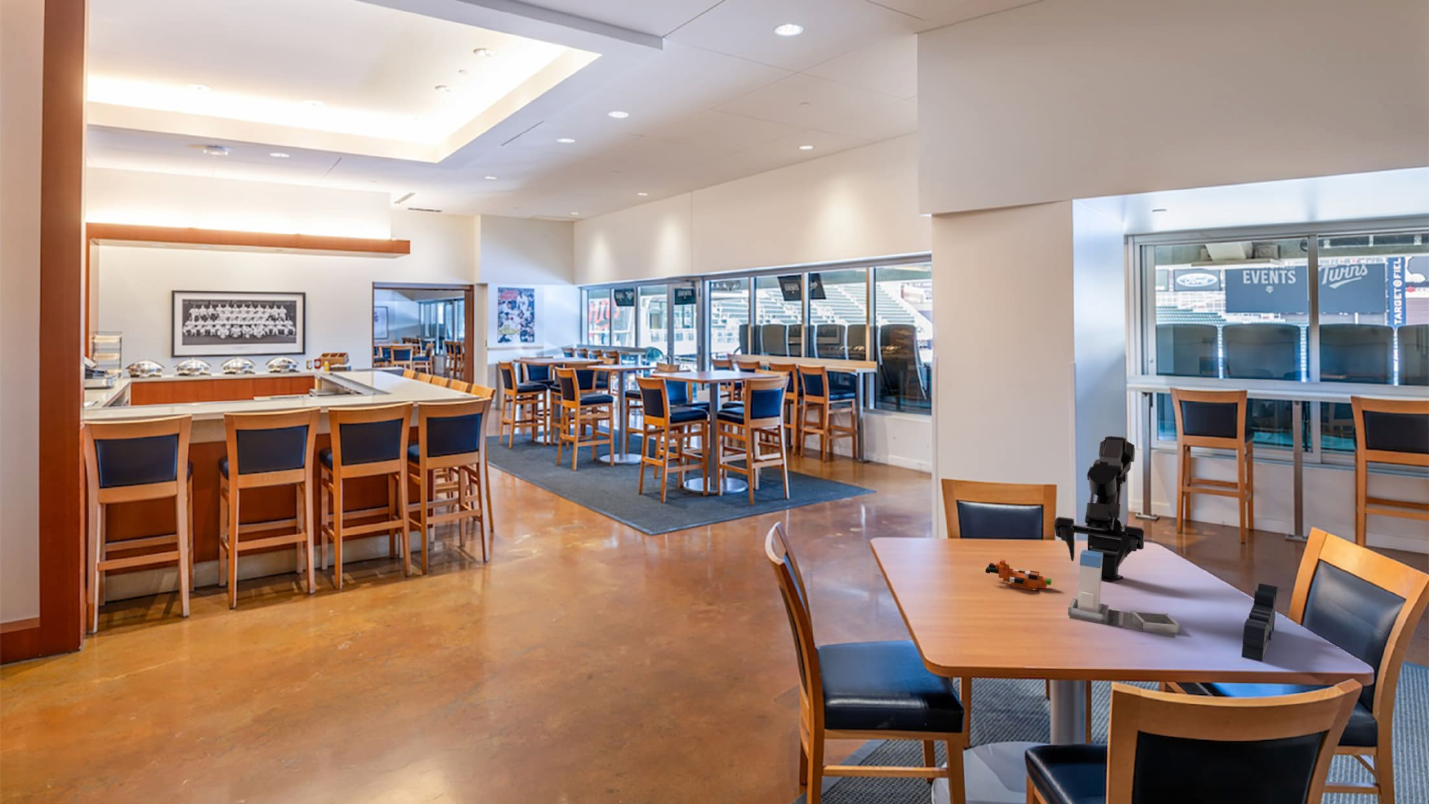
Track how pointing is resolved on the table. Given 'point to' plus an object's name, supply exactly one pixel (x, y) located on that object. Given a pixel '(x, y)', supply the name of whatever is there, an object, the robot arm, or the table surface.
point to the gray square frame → (1157, 627)
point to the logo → (1260, 623)
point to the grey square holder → (1088, 612)
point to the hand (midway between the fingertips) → (1093, 563)
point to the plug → (1090, 580)
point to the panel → (1123, 622)
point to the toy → (1018, 576)
